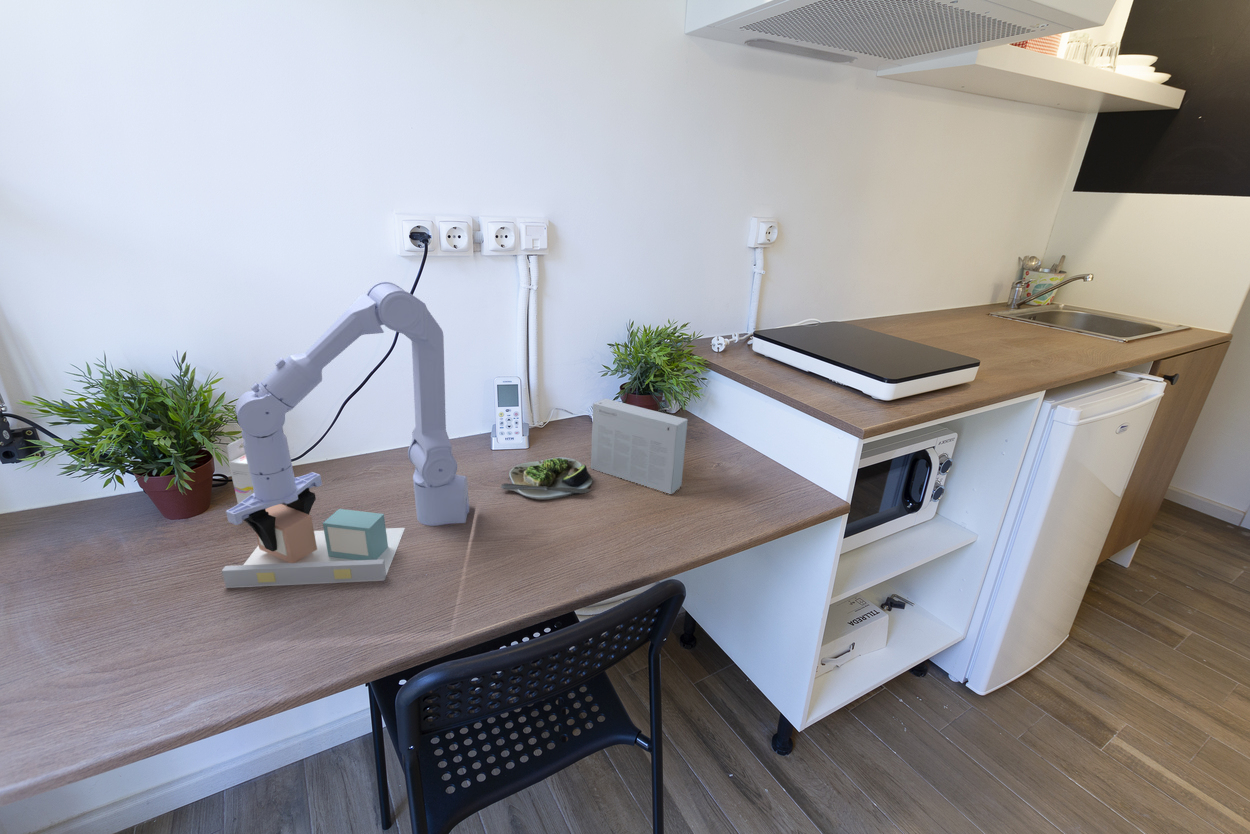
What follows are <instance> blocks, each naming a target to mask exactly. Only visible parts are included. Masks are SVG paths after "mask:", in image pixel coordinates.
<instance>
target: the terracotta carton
mask: <svg viewBox="0 0 1250 834" xmlns="http://www.w3.org/2000/svg"><path fill="white" fill-rule="evenodd" d="M265 510H266V512H268V513H269V515H271V516H274V517H276V519H275V536H276V540H277V550H276V551H270V550H268V549H266V548H265V546H264V544H263V542H262V541H261V539H260V537H259V536H258V535H257V533H256V532H255V534H256V539H257V543H258V544H257V545H259V549H260V550H262V551H265V552H267V553H269V554H271V555H274V556H276V557H278V558H280V559H283V560H285V561H287V562H290V563H295V562H296V561H298V560H300V559H301V558H303V557H305V556H307V555H308V554H310V553H312V552H314V551H315V550H317V545H316V540H315V534H314V531H315V530H314V525H313V524H314V523H313V520H312V519H313V518H312V515H311V514H309V515H308V514H306V513H303V512H301V511H298V510H295V509H293V508H290V507H288V506H287V505H286V504H279V505H275V506H272V507H269V508H267V509H265Z"/></svg>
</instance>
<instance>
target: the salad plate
mask: <svg viewBox="0 0 1250 834" xmlns="http://www.w3.org/2000/svg"><path fill="white" fill-rule="evenodd" d="M508 476H509V479H510V481H511V483H502V484H501V485H500V488H501V490H506V491H512V492H515V493H518V494H520V495H521V496H523V497H526V498H531V499H535V500H541V501H542V500H545V501H547V500H553V499H558V498H559V499H560V498H567V497H574V496H579V495H582V494H586V493H590V492H591V491H592V490H591V489H590V488H591V487H592V485H593V483H594V480H593V477H592V475H591V474H590V473H589V472H588V468H587V465H586V464H582V463H581V462H580V461H578V460H577V459H574V458H569V457H565V456H564V457H559V456H558V457H552V458H548V459H542V460H538V461H537V460H536V461H530V462H529V461H528V462H523V463H518V464H517V465H514V467H513V468H512V469H511V470H510V471H509V472H508Z"/></svg>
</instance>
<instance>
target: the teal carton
mask: <svg viewBox="0 0 1250 834" xmlns="http://www.w3.org/2000/svg"><path fill="white" fill-rule="evenodd" d="M322 526H323V527H322V528H323V531H324V534H325V539H326V545H327V551H328V556H329V557H335V558H343V559H351V560H377V559H378V557H379V556H380V555H381V554H382V553H383V552H384V551H385V550H386V549H387V547H388V542H387V534H386V528H387V527H386V521H385V513H380V512H379V513H378V512H369V511H362V510H360V511H359V510H353V509H346V508H345V509H344V508H339V509H337V510H336V511H335V512H334V513H332V514H331V515H330V516H329V517H328V518H327V519H325V520H324V521H323V522H322Z"/></svg>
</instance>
